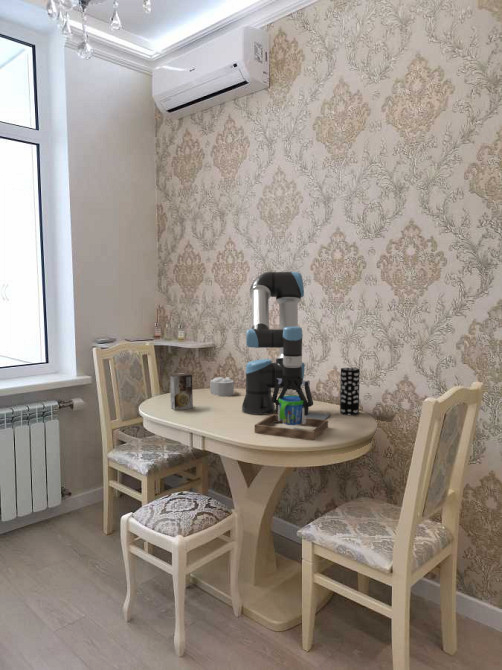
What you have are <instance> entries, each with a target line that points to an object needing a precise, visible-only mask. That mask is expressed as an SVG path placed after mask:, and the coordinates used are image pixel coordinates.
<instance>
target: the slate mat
mask: <svg viewBox="0 0 502 670" xmlns="http://www.w3.org/2000/svg"><path fill="white" fill-rule="evenodd" d="M330 416H331V414H328V413H320V412H319V413H318V412H311V411H310V412H309V414H308V415H307V416H306V418H312V419H321V420H328V418H330Z"/></svg>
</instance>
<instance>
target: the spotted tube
mask: <svg viewBox="0 0 502 670" xmlns="http://www.w3.org/2000/svg"><path fill="white" fill-rule="evenodd" d="M360 373H361V370H360V368H357V367H342V368H340V384H339V385H340V389H339V390H340V392H339V394H340V396H339V399H340V400H339V413H340V414H341V415H343V416H356V415H359V414H360V379H361V378H360Z"/></svg>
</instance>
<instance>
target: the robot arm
mask: <svg viewBox="0 0 502 670" xmlns="http://www.w3.org/2000/svg"><path fill="white" fill-rule="evenodd" d="M304 288H305V287H304V280H303V276H302V274H301V273H300V272H299V271H266V272H263V273H262V274H260V275H258V276H257V277H256V278H255V279H254V280H253V282H252V284H251V285H250V287H249V296H250V298H251V315H250V316H251V320H250V321H251V322H250V324H251V326H250V328H249V329H247V330H246V338H245V339H246V340H245V341H246V342H245V343H246V347H248V348H253V349H254V348H256V349H259V348H260V349H261V348H262V349H265V348H268V349H269V348H275V349H278V348H279V352H278V356H277V357H276V358H275V362H272V359H270V358H268V359H267V358H262V359H255V360H251V361H248V362H247V363H246V365H245V395H244V399H243V402H242V405H241V411H242V412H243V413H245V414H249V415H266V414H267V415H268V414H272V413H274V412H276V413H277V415H278V421H281V420H282V419H280V416H279V415H280V409H281V408H280V403H279V401H278V399H279V398H283V397H284V396H286V393H287V391H288V390H289V391H290V390H292V391H295V392H296V393H297V396H299V397H300V399H301V401H302V400H303V405H304V407H303V408H302V424H305V423H306V416H307V415H308V414H309V411H310V410H309V409H310V407H312V406H314V400H313V396H312V392H311V387H310V383H311V381H310V380H304V378H305V370H306V369H305V368H306V367H305V366H306V363H305V362H303V328H302V327H301V326H299V325H298V324H299V323H298V322H299V320H298V318H299V316H298V311H299V303H300V302H301V301H302V298H303V297H305V289H304ZM271 297H272V298H275V302H277V304H278V308H279V309H278V311H279V314H278V317H279V321H278V327H279V328H278V329H273V328H271V329H270V315H269V314H270V310H269V306H270V304H269V302H270V301H269V300H270V298H271ZM302 386H303V387H304V391H303V389H302V388H303V387H302ZM272 389H273V393H272ZM280 389H282V390H281V392H280V393H279V391H280ZM304 392H305V394H304ZM278 395H279V396H278Z"/></svg>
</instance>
